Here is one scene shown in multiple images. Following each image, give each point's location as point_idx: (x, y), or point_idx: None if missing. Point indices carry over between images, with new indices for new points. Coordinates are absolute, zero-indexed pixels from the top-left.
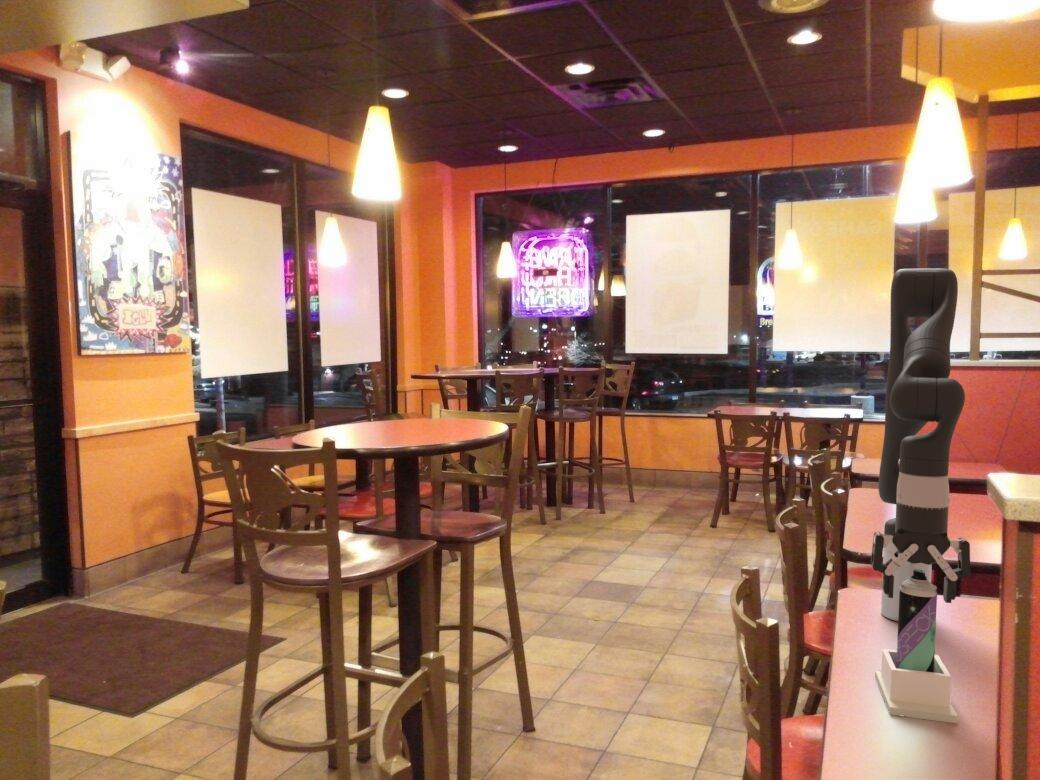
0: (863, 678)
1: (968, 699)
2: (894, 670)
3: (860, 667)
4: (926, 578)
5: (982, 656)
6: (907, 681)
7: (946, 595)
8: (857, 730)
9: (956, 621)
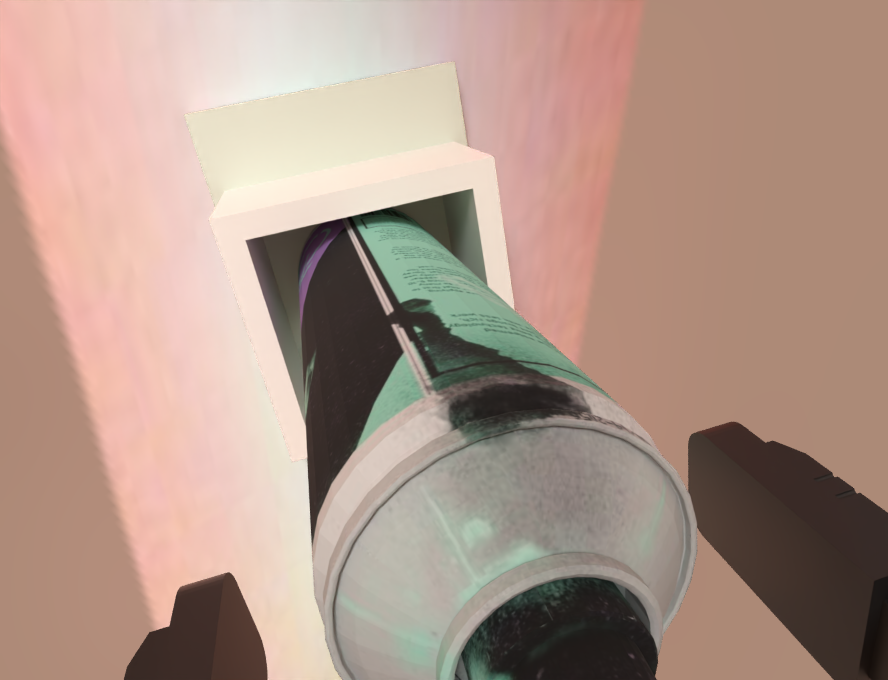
0: (141, 154)
1: (553, 161)
2: (305, 458)
3: (90, 5)
4: (648, 613)
5: None
6: None
7: (732, 558)
8: None
9: None
